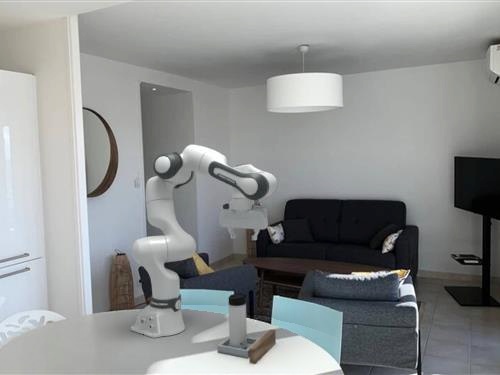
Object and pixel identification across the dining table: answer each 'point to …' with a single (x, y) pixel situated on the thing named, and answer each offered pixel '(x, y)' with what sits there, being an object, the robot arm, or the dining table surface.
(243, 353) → the slate tray
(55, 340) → the dining table surface
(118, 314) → the dining table surface
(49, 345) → the dining table surface
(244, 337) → the travel mug
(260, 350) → the walnut rail
